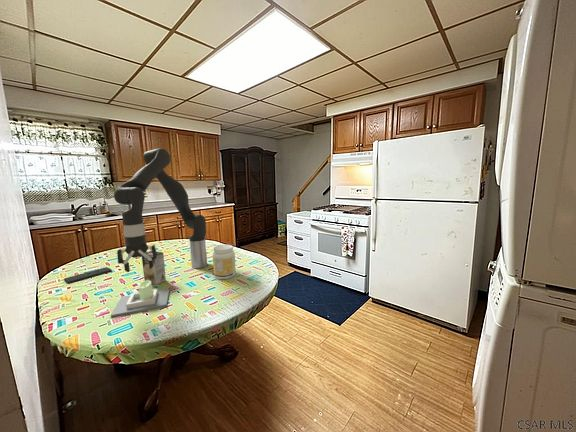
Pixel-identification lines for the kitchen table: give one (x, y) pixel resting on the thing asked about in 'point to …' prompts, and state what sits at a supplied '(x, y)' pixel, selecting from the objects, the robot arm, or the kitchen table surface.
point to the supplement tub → (224, 262)
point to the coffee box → (154, 269)
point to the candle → (145, 290)
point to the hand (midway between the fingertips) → (139, 269)
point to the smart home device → (87, 275)
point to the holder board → (140, 303)
